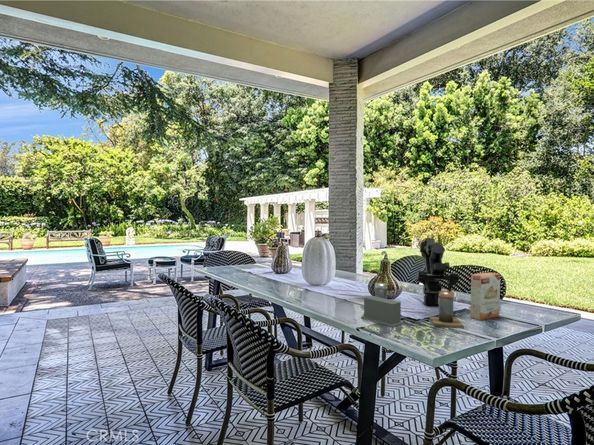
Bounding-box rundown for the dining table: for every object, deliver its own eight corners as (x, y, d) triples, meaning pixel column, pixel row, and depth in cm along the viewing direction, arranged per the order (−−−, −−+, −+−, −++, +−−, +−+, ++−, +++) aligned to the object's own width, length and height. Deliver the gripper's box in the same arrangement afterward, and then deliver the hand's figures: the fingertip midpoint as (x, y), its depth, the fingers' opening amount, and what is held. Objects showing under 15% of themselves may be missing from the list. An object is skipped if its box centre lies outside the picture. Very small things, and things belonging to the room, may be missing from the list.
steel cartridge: (385, 307, 196) (385, 282, 196) (388, 310, 190) (388, 285, 190) (373, 307, 196) (373, 282, 196) (376, 310, 190) (376, 285, 189)
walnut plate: (429, 318, 175) (429, 316, 175) (456, 320, 173) (456, 317, 173) (434, 326, 163) (434, 324, 163) (463, 328, 161) (463, 325, 161)
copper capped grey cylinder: (443, 317, 172) (444, 290, 172) (456, 321, 167) (456, 292, 167) (435, 320, 169) (436, 291, 168) (448, 323, 164) (448, 294, 163)
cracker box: (480, 321, 172) (481, 276, 171) (469, 317, 177) (470, 274, 176) (500, 317, 178) (501, 273, 177) (488, 313, 183) (489, 271, 183)
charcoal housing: (371, 315, 181) (371, 295, 181) (403, 323, 168) (403, 302, 167) (361, 318, 176) (361, 297, 176) (393, 327, 162) (393, 305, 162)
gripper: (419, 254, 182) (422, 282, 172) (459, 257, 179) (464, 285, 169) (415, 267, 190) (418, 294, 180) (454, 269, 187) (458, 297, 177)
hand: (439, 292), depth 176 cm, fingers open, 9 cm apart
